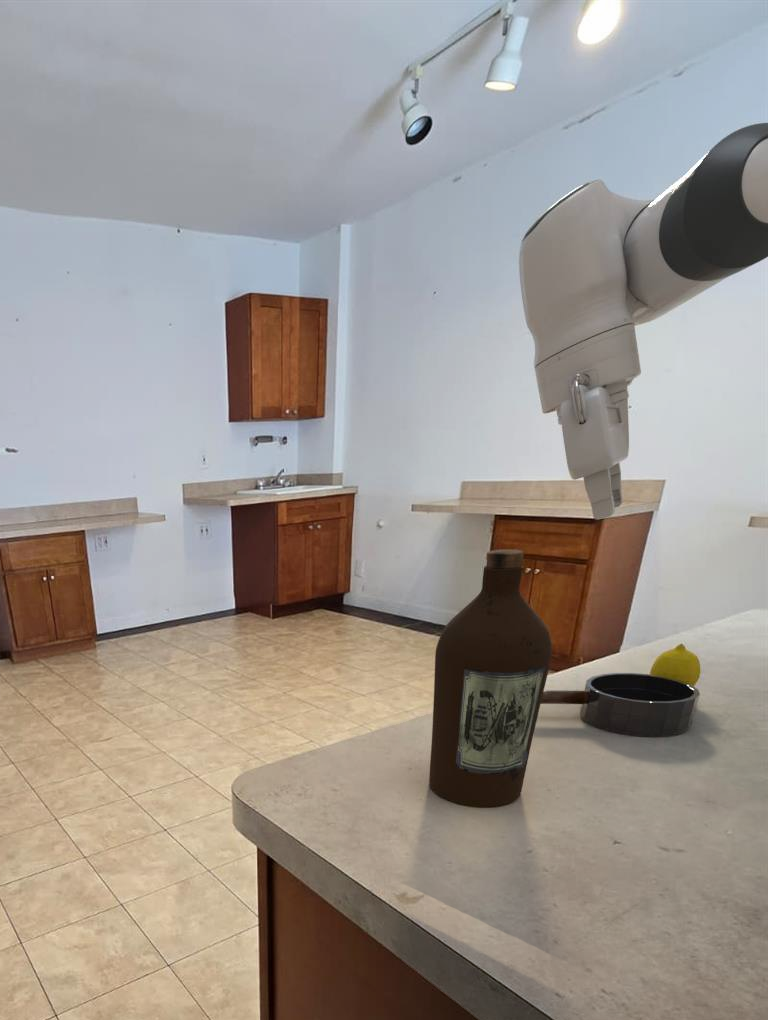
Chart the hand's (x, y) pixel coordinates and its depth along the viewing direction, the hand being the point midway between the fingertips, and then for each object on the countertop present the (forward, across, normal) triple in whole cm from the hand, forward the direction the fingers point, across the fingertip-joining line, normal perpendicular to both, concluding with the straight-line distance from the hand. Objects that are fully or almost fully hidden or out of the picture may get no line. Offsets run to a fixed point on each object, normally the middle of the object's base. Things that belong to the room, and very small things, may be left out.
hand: (609, 512), depth 69 cm
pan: (+27, +10, +2) cm, 29 cm away
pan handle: (+22, +6, +11) cm, 25 cm away
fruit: (+29, +20, -1) cm, 35 cm away
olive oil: (+23, -20, +14) cm, 34 cm away
